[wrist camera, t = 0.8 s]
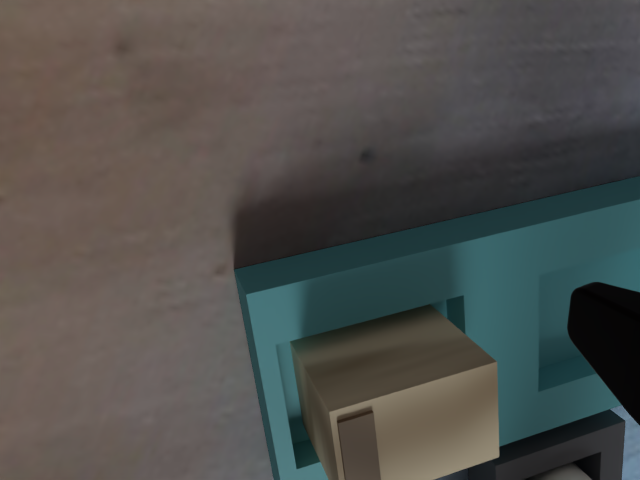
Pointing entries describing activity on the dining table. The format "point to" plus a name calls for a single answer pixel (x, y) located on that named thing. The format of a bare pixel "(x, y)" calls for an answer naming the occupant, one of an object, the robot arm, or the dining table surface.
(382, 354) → the block
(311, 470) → the teal block holder tray
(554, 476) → the button
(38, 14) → the dining table surface
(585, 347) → the robot arm
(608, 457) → the button housing
